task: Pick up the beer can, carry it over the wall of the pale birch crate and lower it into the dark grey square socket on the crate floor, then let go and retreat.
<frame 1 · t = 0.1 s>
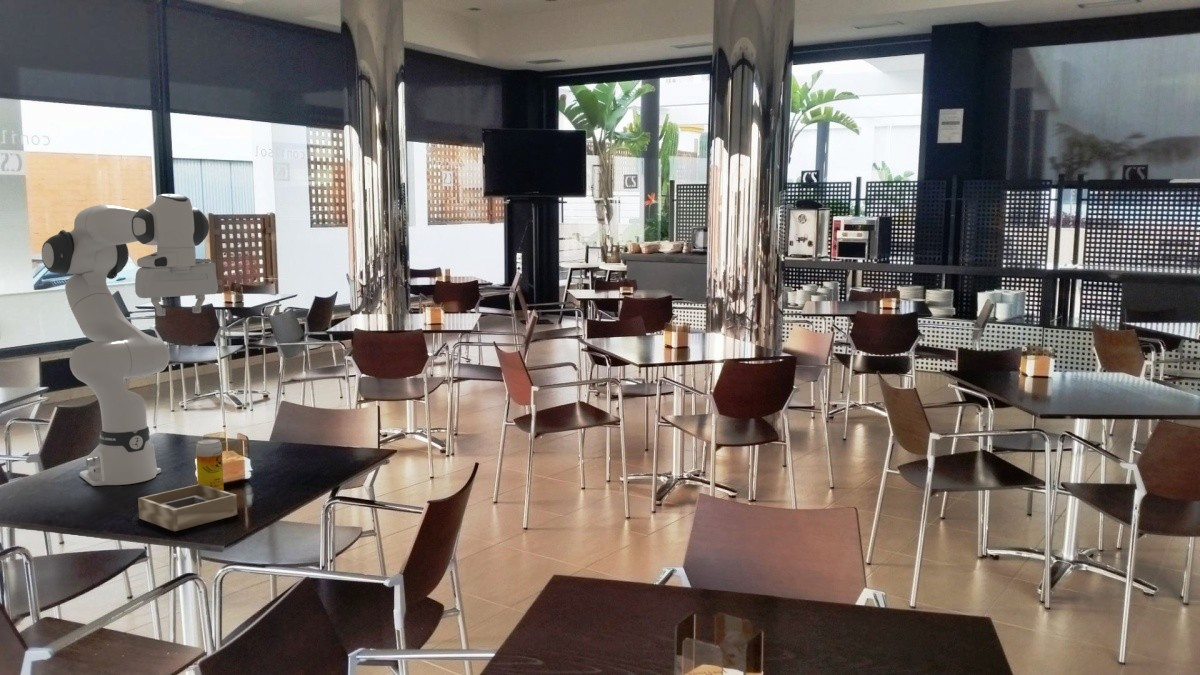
hand: (179, 314, 238), 48 cm above the table, fingers open, 8 cm apart
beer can: (211, 498, 245), on the table
crate: (188, 516, 229), on the table
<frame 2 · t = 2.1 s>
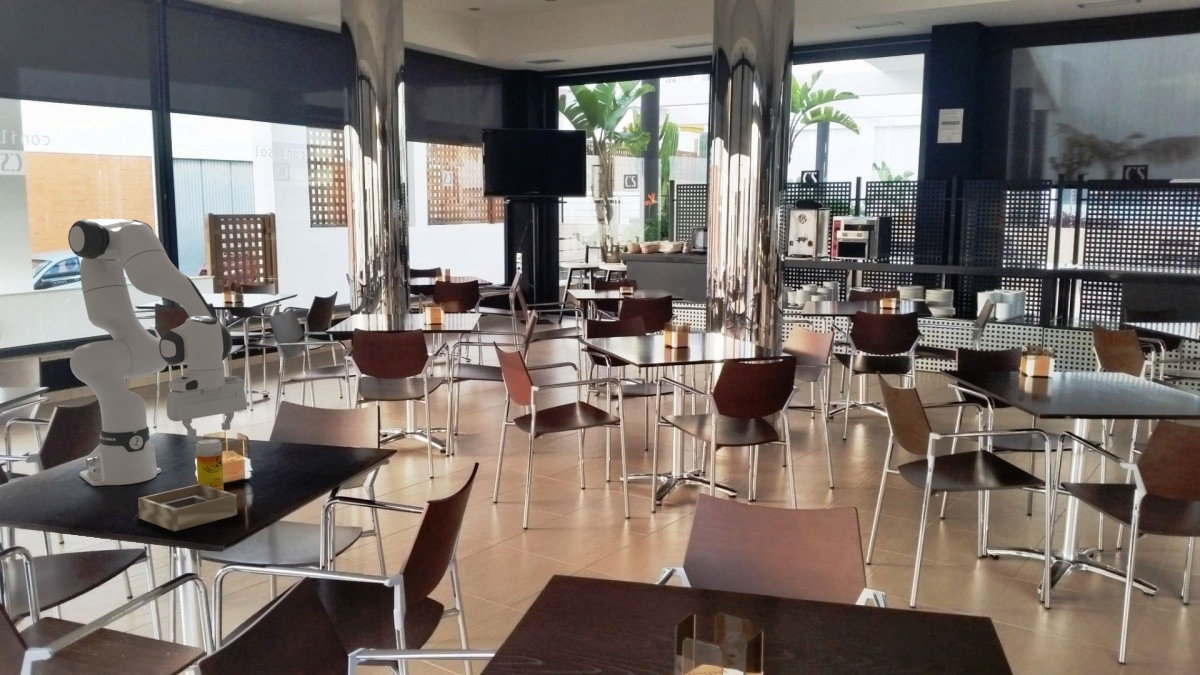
hand: (209, 432, 242), 17 cm above the table, fingers open, 8 cm apart
nothing on the table moved.
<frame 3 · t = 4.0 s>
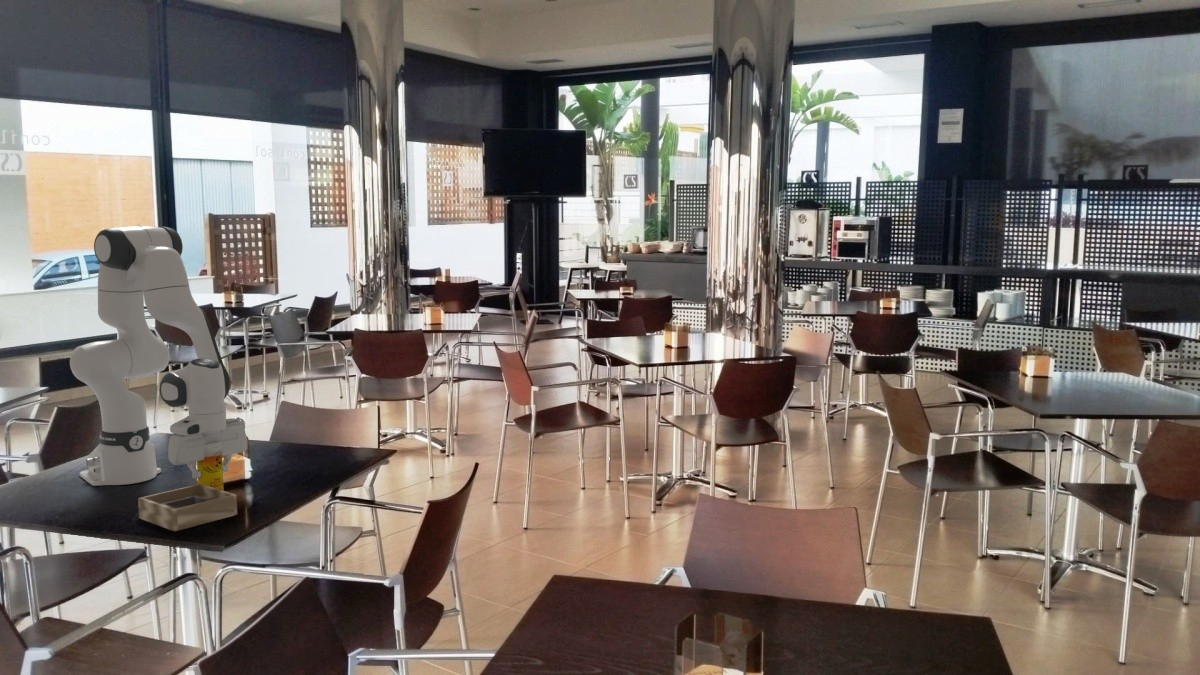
hand: (210, 475, 244), 6 cm above the table, fingers closed on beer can, 6 cm apart
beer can: (211, 498, 245), on the table, touching gripper
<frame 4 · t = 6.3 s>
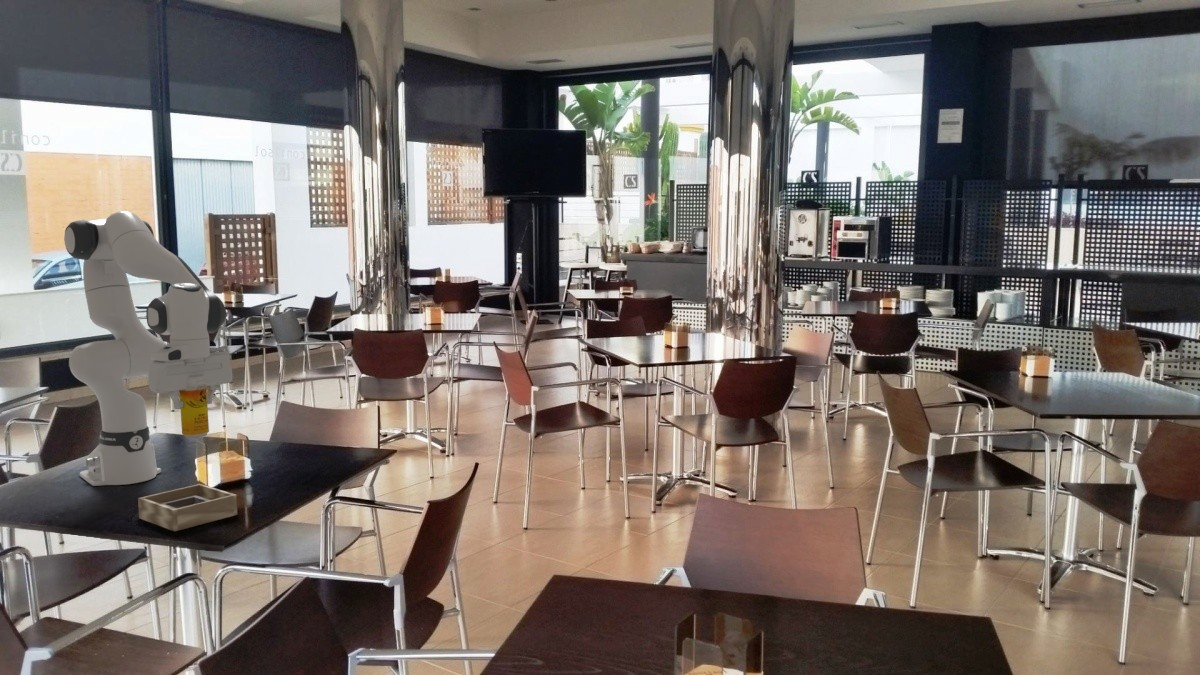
hand: (193, 406, 231), 26 cm above the table, fingers closed on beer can, 6 cm apart
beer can: (195, 436, 232), point 19 cm above the table, touching gripper
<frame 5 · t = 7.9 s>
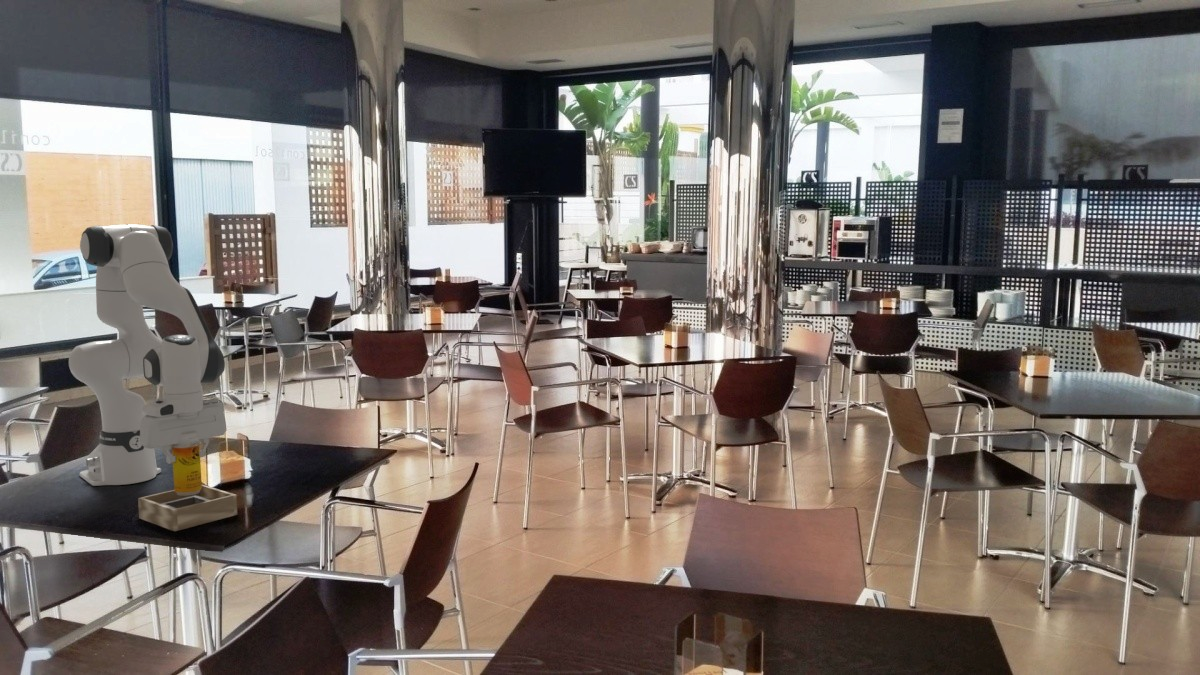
hand: (186, 459, 227), 14 cm above the table, fingers closed on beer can, 6 cm apart
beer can: (188, 493, 228), point 6 cm above the table, touching gripper
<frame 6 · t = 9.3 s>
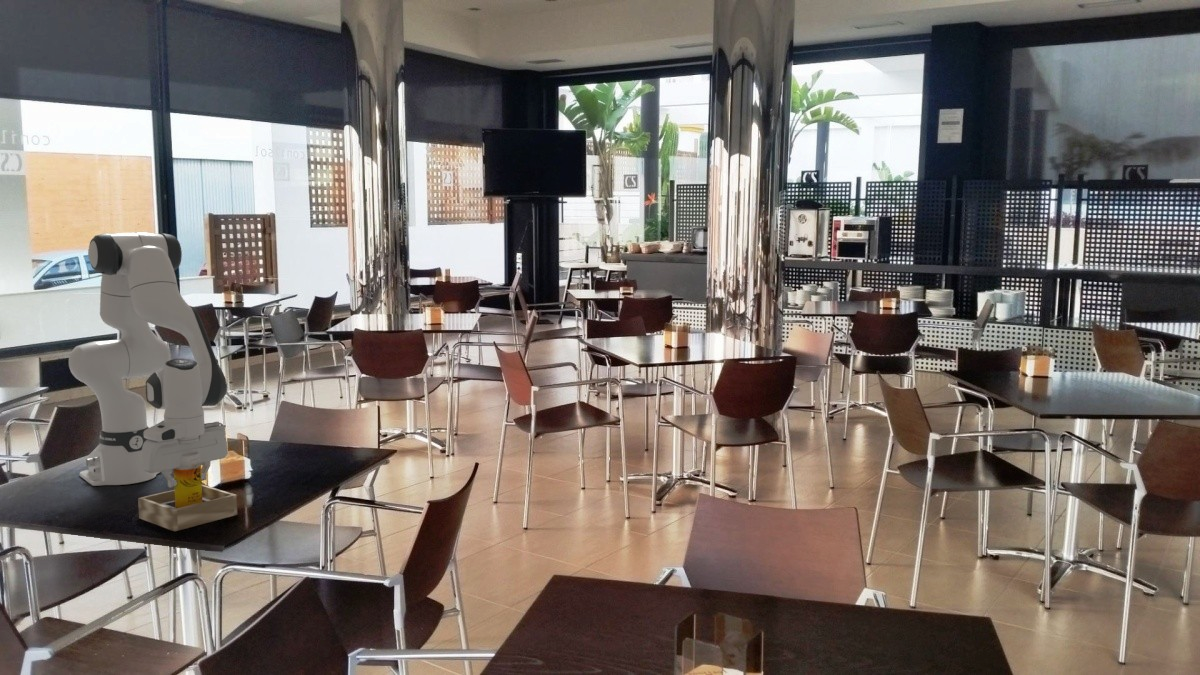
hand: (187, 483, 228), 8 cm above the table, fingers closed on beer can, 6 cm apart
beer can: (189, 514, 229), point 1 cm above the table, touching crate, gripper
when the fingers open (8 cm above the table, at t = 10.0 s): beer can stays where it is, resting on crate.
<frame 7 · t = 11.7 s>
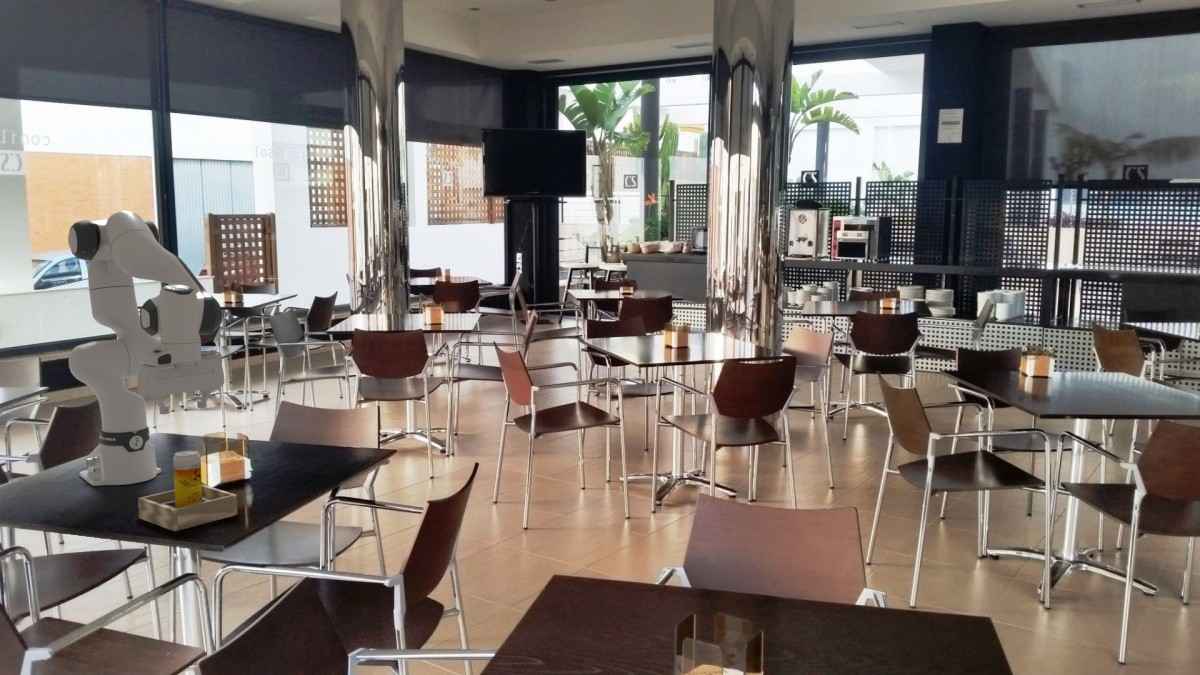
hand: (183, 410, 226), 26 cm above the table, fingers open, 8 cm apart
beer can: (189, 514, 229), point 1 cm above the table, touching crate
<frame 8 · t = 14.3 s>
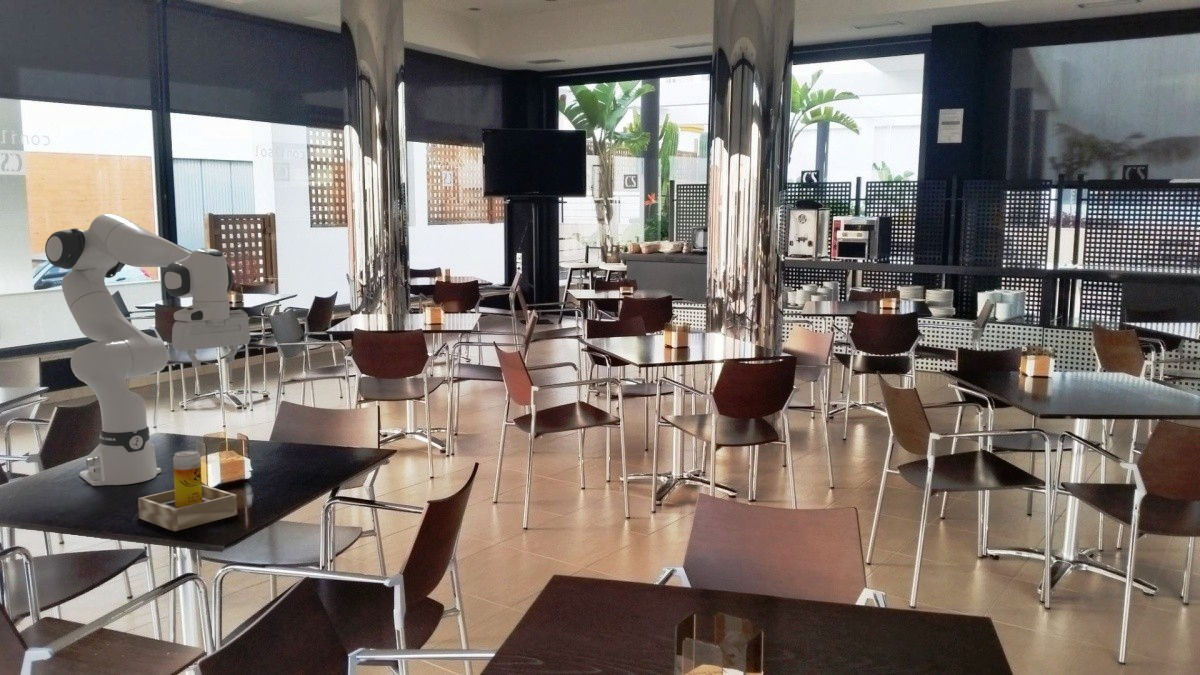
hand: (213, 364, 246), 34 cm above the table, fingers open, 8 cm apart
nothing on the table moved.
at the end: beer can 0.4 cm from the crate (horizontally); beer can tilted 0°; the gripper is holding nothing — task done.
